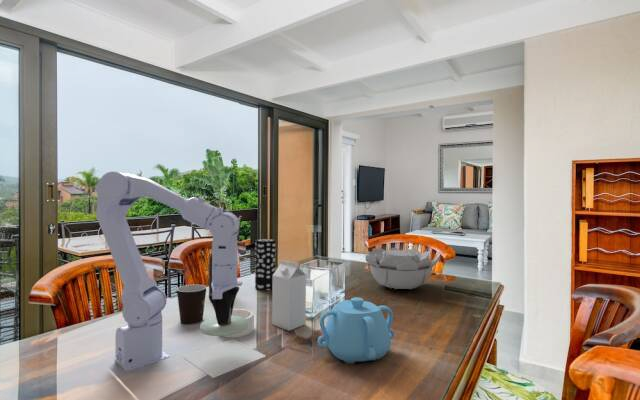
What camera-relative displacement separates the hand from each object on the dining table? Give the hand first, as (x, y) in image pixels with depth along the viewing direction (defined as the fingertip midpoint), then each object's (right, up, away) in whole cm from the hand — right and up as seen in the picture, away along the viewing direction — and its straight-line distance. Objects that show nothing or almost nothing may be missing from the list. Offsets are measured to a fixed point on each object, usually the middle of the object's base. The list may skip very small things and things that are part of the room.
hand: (224, 320), depth 83 cm
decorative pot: (+32, -9, +3) cm, 33 cm away
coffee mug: (-17, -9, +26) cm, 32 cm away
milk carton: (+13, -9, +22) cm, 27 cm away
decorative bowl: (+56, -9, +66) cm, 87 cm away
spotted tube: (0, -8, +63) cm, 64 cm away
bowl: (-1, -9, +16) cm, 19 cm away
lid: (0, -1, 0) cm, 1 cm away
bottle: (-17, -8, +53) cm, 56 cm away
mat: (0, -9, 0) cm, 9 cm away
